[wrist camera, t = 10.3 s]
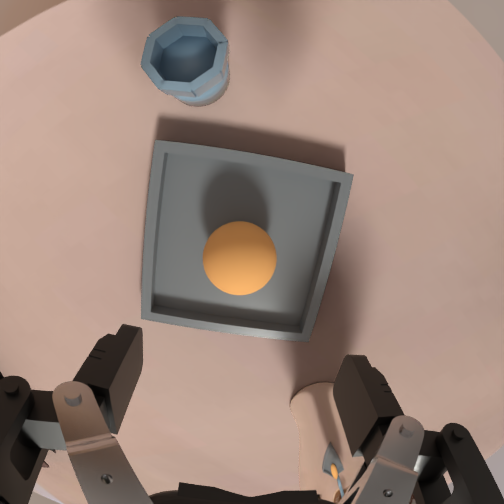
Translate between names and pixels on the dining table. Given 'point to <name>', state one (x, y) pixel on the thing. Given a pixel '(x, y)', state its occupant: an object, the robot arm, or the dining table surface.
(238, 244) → the ball
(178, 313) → the tray
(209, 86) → the cup
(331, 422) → the beer glass
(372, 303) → the dining table surface
